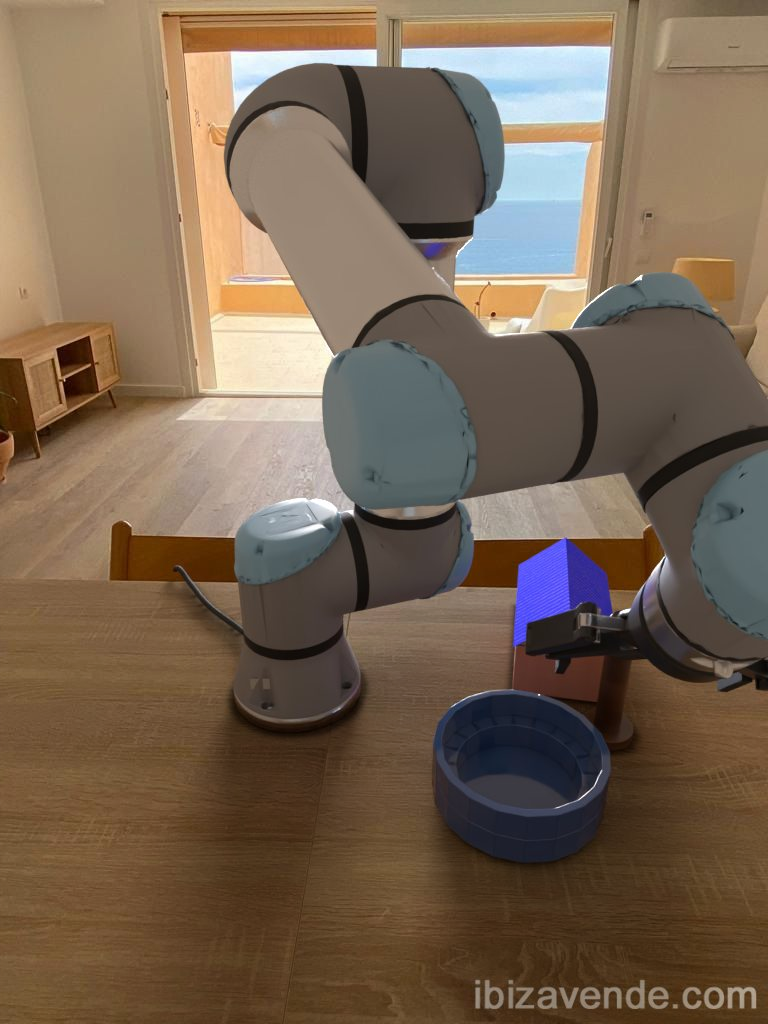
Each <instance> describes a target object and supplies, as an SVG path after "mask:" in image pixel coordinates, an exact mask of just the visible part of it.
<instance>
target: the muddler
mask: <svg viewBox="0 0 768 1024" xmlns="http://www.w3.org/2000/svg"><path fill="white" fill-rule="evenodd" d="M612 615H613V614H612ZM612 615H611V616H612ZM631 649H635V647H633V646H631ZM632 663H633V660H629V661H627V660H623V659H620V658H616V657H614V656H613V655H605V656H604V660H603V666H602V673H601V680H600V686H599V693H598V699H597V702H596V707H592V708H589V709H587V710H586V711H585V712H584V713H583V714H582V715H584V716H585V717H586V718H587V719H588V720H589V721H590V722H591V723H592V724H593V725H594V726H595V727H596V728H597V729H598V731H599V732H600V733H601V735H602V737H603V739H604V741H605V743H606V745H607V747H608V749H609V751H612V752H613V751H620V750H624V749H626V748H628V747H629V746H630V745H631V743H632V742H633V736H634V731H635V729H634V725H633V723H632V721H631V720H630V719H629V718H628V717H627V716H626V715H624V709H625V704H626V697H627V691H628V685H629V680H630V674H631V668H632Z"/></svg>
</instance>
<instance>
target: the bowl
mask: <svg viewBox="0 0 768 1024" xmlns="http://www.w3.org/2000/svg"><path fill="white" fill-rule="evenodd" d="M610 751H611V750H609V749H608V747H607V745H606V743H605V741H604V739H603V737H602V735H601V733H600V732H599V731H598V729H597V728H596V727H595V726H594V725H593V724H592V723H591V722H590V721H589V720H588V719H587V718H586V717H585V716H584V715H583V714H582V713H581V712H579V711H578V710H576V709H574V708H573V707H572V706H569V704H567V703H566V702H563V701H561V700H557V699H555V698H554V697H553V698H552V697H551V696H546V695H542V694H538V693H532V692H526V691H520V690H512V689H495V690H494V689H493V690H487V691H484V692H480V693H476V694H473V695H469V696H467V697H465V698H464V699H462V700H460V701H459V702H457V703H455V704H454V705H452V706H450V707H449V709H448V710H447V711H446V712H445V713H444V714H443V716H442V717H441V718H440V720H439V721H438V722H437V725H436V729H435V731H434V736H433V740H432V768H431V769H432V770H431V786H432V792H433V793H432V794H433V801H434V804H435V806H436V809H437V810H438V812H439V814H440V815H441V817H442V818H443V821H444V822H445V825H446V826H447V827H448V828H449V829H450V830H452V831H453V832H454V833H455V834H456V835H457V836H458V837H459V838H460V839H461V840H463V841H464V842H465V843H466V844H468V845H470V846H472V847H474V848H475V849H477V850H479V851H482V852H483V853H486V854H488V855H489V856H491V857H494V858H499V859H504V860H508V861H512V862H518V863H522V864H531V863H532V864H533V863H549V862H550V863H551V862H555V861H557V860H559V859H562V858H566V857H567V856H570V855H573V854H575V853H578V851H580V850H581V849H582V848H583V847H584V846H586V844H588V843H589V842H590V841H591V840H592V839H593V838H594V837H596V835H597V832H598V830H599V827H600V825H601V823H602V820H603V818H604V814H605V808H606V803H607V798H608V797H607V796H608V791H609V785H610V779H611V773H612V769H611V752H610Z"/></svg>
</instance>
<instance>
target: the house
mask: <svg viewBox="0 0 768 1024" xmlns="http://www.w3.org/2000/svg"><path fill="white" fill-rule="evenodd" d="M517 570H518V573H517V587H516V599H515V612H514V613H515V616H514V629H513V639H512V641H513V642H512V648H514V655H513V656H514V657H513V659H514V660H513V672H512V686H511V687H512V688H511V690H520V691H526V692H532V693H538V694H542V695H545V696H547V697H553V698H560V699H561V698H563V699H570V700H577V701H586V702H593V703H597V699H598V693H599V686H600V680H601V673H602V666H603V660H604V656H592V657H580V658H571V663H570V665H569V666H568V668H567V670H566V671H565V673H564V674H556V673H555V664H556V660H552V659H546V658H545V654H543V655H536V656H529V655H527V654H525V645H526V629H527V623H529V622H533V621H536V620H539V619H543V618H546V617H549V616H553V615H556V614H559V613H563V612H566V611H569V610H573V609H575V608H576V607H577V606H578V605H579V604H580V603H584V602H593V603H595V604H597V605H598V609H601V615H604V616H611V615H612V614H613V613H614V611H613V605H612V600H611V599H612V598H611V593H610V586H609V582H608V581H609V580H608V575H607V572H606V571H605V570H603V568H601V567H600V566H599V565H598V564H597V563H595V562H594V560H592V559H591V558H590V557H589V556H588V555H586V553H584V551H582V550H581V549H580V548H578V546H576V545H575V544H574V543H573V542H572V541H570V539H569V538H568V537H564V538H562V539H561V540H559V541H557V542H555V543H553V544H552V545H550V546H549V547H547V548H545V549H543V550H542V551H540V552H539V553H537V554H535V555H533V556H531V557H530V558H529V559H526V560H525V561H523V562H521V563H520V564H518V569H517Z"/></svg>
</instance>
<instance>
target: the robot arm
mask: <svg viewBox="0 0 768 1024" xmlns="http://www.w3.org/2000/svg"><path fill="white" fill-rule="evenodd" d="M505 150H506V149H505V139H504V130H503V125H502V120H501V117H500V113H499V110H498V107H497V105H496V102H495V101H494V100H493V98H492V95H491V92H490V91H489V89H488V88H487V87H486V86H485V84H484V83H483V82H482V81H481V80H480V79H479V78H477V77H476V76H473V75H472V74H469V73H467V72H461V71H455V70H449V69H441V68H439V67H431V66H428V67H427V66H426V67H412V66H411V67H410V66H409V67H407V66H381V65H380V66H377V65H351V64H350V65H348V64H335V63H331V62H330V63H328V62H313V63H306V64H301V65H296V66H293V67H290V68H287V69H284V70H282V71H279V72H278V73H276V74H274V75H272V76H270V77H269V78H267V79H266V80H264V81H263V82H262V83H260V84H259V85H258V86H257V87H255V88H254V89H253V90H252V91H251V92H250V93H249V94H248V95H247V96H246V97H245V98H244V100H243V101H242V102H241V103H240V104H239V106H238V107H237V110H236V112H235V113H234V115H233V117H232V118H231V120H230V123H229V126H228V129H227V132H226V135H225V141H224V149H223V165H224V172H225V173H224V174H225V178H226V181H227V184H228V188H229V190H230V193H231V195H232V197H233V199H234V200H235V203H236V204H237V206H238V209H239V210H240V211H241V213H242V214H243V215H244V217H245V218H246V219H247V221H248V222H250V223H251V224H252V225H253V226H254V227H256V228H257V229H258V230H260V231H261V232H263V233H264V234H267V235H268V237H269V240H270V241H271V243H272V245H273V247H274V249H275V251H276V253H277V254H278V256H279V258H280V260H281V262H282V263H283V266H284V267H285V269H286V272H287V273H288V275H289V277H290V279H291V281H292V283H293V285H294V286H295V288H296V290H297V292H298V294H299V296H300V297H301V299H302V301H303V304H304V305H305V307H306V309H307V312H308V313H309V314H310V316H311V318H312V320H313V322H314V324H315V326H316V328H317V330H318V332H319V334H320V335H321V337H322V339H323V341H324V343H325V345H326V347H327V349H328V350H329V352H330V355H331V356H332V359H331V361H330V362H329V364H328V366H327V367H326V371H325V373H324V378H323V384H322V395H321V410H322V411H321V413H322V426H323V434H324V440H325V445H326V448H327V449H328V452H329V456H330V463H331V469H332V472H333V475H334V478H335V480H336V482H337V483H338V485H339V488H340V489H341V491H342V493H343V494H344V495H345V496H346V497H347V498H348V499H349V500H350V501H351V502H352V503H353V505H354V507H353V509H350V510H349V509H348V510H344V511H338V509H337V507H336V506H335V505H334V504H333V503H331V502H330V501H326V500H324V499H319V498H313V499H310V500H308V499H307V498H303V497H302V498H293V499H287V500H284V501H279V502H276V503H273V504H270V505H268V506H265V507H263V508H260V509H259V510H257V511H256V512H254V513H252V514H251V515H250V516H249V517H248V518H247V519H246V520H245V521H243V522H242V524H241V525H240V526H239V528H238V529H237V531H236V534H235V538H234V565H233V570H234V571H233V572H234V574H235V577H236V579H237V587H238V596H239V606H240V617H241V625H240V624H239V623H237V622H236V621H235V620H233V619H232V618H231V617H229V616H228V615H226V614H225V613H224V612H222V611H221V610H220V609H218V608H217V607H215V606H214V605H213V604H212V603H211V602H210V601H209V600H208V599H207V598H206V597H205V595H204V594H203V593H202V592H201V590H200V589H199V588H198V586H197V585H196V583H194V581H193V580H192V579H191V578H190V576H189V575H188V574H187V572H186V571H185V569H184V568H183V567H182V566H181V565H175V566H174V567H173V568H172V572H174V573H177V572H178V573H179V575H180V576H181V577H182V579H183V580H184V582H185V583H186V584H187V585H188V586H189V588H190V590H191V591H192V592H193V594H194V595H195V597H196V598H197V599H198V600H199V601H200V602H201V604H202V605H203V606H204V607H205V608H206V609H207V610H209V611H210V612H211V613H212V614H214V615H215V616H216V617H218V619H220V620H222V621H223V622H225V623H226V624H227V625H228V626H230V627H231V628H233V630H235V631H237V632H238V633H239V634H241V635H242V636H243V642H242V643H243V644H242V647H241V651H240V655H239V659H238V662H237V665H236V669H235V674H234V677H233V682H232V687H233V688H232V689H233V697H234V701H235V702H234V703H235V705H236V708H237V710H238V711H239V713H240V714H241V715H242V717H244V718H245V719H246V720H247V721H248V722H250V723H251V724H253V725H255V726H257V727H260V728H262V729H265V730H269V731H274V732H282V733H300V732H306V731H307V732H308V731H312V730H317V729H320V728H323V727H326V726H328V725H330V724H332V723H334V722H336V721H338V720H339V719H341V718H342V717H344V716H345V715H346V714H347V713H349V712H350V711H351V709H352V708H353V707H354V706H355V705H356V703H357V702H358V700H359V697H360V694H361V689H362V679H361V677H362V676H361V668H360V665H359V662H358V660H357V659H356V656H355V653H354V651H353V649H352V646H351V644H350V642H349V639H348V638H347V634H346V633H345V628H344V627H345V626H344V616H345V615H349V614H353V613H357V612H362V611H366V610H371V609H376V608H381V607H387V606H391V605H396V604H400V603H405V602H410V601H414V600H415V601H416V600H430V599H432V598H434V597H436V596H438V595H441V594H445V593H449V592H452V591H454V590H455V589H457V588H458V587H459V586H461V585H462V584H463V582H464V581H465V579H466V578H467V576H468V574H469V572H470V569H471V567H472V563H473V558H474V552H475V536H474V535H475V534H474V533H473V532H472V531H471V530H472V529H471V528H472V525H473V522H472V518H471V516H470V513H469V511H468V508H467V506H466V505H465V504H464V502H463V501H464V500H469V499H473V498H478V497H485V496H491V495H494V494H495V495H496V494H501V493H506V492H512V491H518V490H524V489H529V488H535V487H540V486H546V485H555V484H557V483H569V482H575V481H581V480H588V479H593V478H599V477H605V476H612V475H619V474H624V476H625V478H626V480H627V482H628V484H629V485H630V487H631V490H632V491H633V493H634V495H635V497H636V499H637V500H638V502H639V505H640V506H641V509H642V510H643V513H644V514H645V515H646V516H647V518H648V520H649V523H650V525H651V527H652V529H653V531H654V533H655V535H656V537H657V539H658V541H659V543H660V545H661V547H662V550H663V552H664V554H665V555H664V556H663V557H662V558H661V559H660V562H658V563H657V565H656V566H655V568H653V570H652V572H651V574H650V576H649V577H648V578H647V579H646V581H645V582H644V584H643V585H642V586H641V588H640V589H639V591H638V592H637V593H636V594H635V597H634V600H633V601H632V604H631V607H630V608H627V609H621V610H615V611H613V615H612V616H604V615H601V609H598V605H597V604H595V603H593V602H584V603H580V604H579V605H578V606H577V607H576V608H575V609H573V610H569V611H566V612H563V613H559V614H556V615H553V616H549V617H546V618H543V619H539V620H536V621H533V622H529V623H527V629H526V640H525V641H526V643H525V644H526V645H525V654H527V655H529V656H536V655H543V654H545V658H546V659H552V660H556V664H555V673H556V674H564V673H565V671H566V670H567V668H568V666H569V665H570V663H571V658H580V657H592V656H605V655H613V656H614V657H616V658H620V659H623V660H627V661H629V660H632V661H643V660H646V661H648V662H649V663H650V664H651V665H652V666H653V667H655V668H656V669H657V670H659V671H660V672H662V674H665V675H667V676H669V677H671V678H673V679H675V680H679V681H682V682H687V683H693V684H707V683H714V682H716V689H717V690H716V691H717V692H720V693H729V692H731V691H733V690H735V689H738V688H741V687H744V686H746V685H749V684H751V683H753V681H754V685H755V690H756V691H763V692H768V396H767V394H766V393H765V391H764V390H763V388H762V386H761V384H760V383H759V381H758V379H757V377H756V376H755V374H754V372H753V371H752V369H751V366H750V365H749V363H748V362H747V360H746V359H745V357H744V355H743V353H742V352H741V350H740V348H739V346H738V344H737V343H736V341H735V340H736V338H735V335H734V333H733V332H732V329H731V327H730V326H728V325H727V324H726V322H725V321H724V320H723V318H722V316H718V315H717V313H716V312H715V310H714V309H713V307H712V306H711V305H710V303H709V302H708V300H707V299H706V298H705V296H704V294H703V293H702V291H701V290H700V288H698V286H697V284H695V283H694V282H693V281H692V280H691V279H689V277H688V278H687V277H686V276H683V275H682V274H679V273H675V272H669V271H656V272H648V273H644V274H641V275H640V276H638V277H637V278H636V279H634V280H633V281H632V282H630V283H626V284H625V283H617V284H615V285H613V286H611V287H609V288H608V289H606V290H604V291H603V292H602V293H600V294H599V295H597V296H596V297H595V298H594V299H593V300H591V301H590V302H589V303H588V304H587V305H586V306H585V307H584V308H583V309H582V311H580V313H579V314H578V316H577V317H576V318H575V319H574V321H573V323H572V325H571V327H570V328H565V329H564V328H563V329H549V330H538V331H529V332H527V331H526V332H514V333H513V332H511V333H500V334H496V333H493V332H490V331H488V330H487V329H486V327H485V326H484V325H483V324H482V323H481V322H480V321H479V319H478V318H477V317H476V316H475V314H474V313H473V312H471V311H470V310H469V308H468V307H466V305H464V303H463V302H462V301H461V299H460V298H459V297H458V296H457V294H456V293H455V282H456V266H457V265H456V264H457V257H458V254H459V253H460V251H461V250H463V249H464V247H465V246H466V245H467V244H469V243H470V241H472V239H473V238H474V229H475V217H477V216H481V215H483V213H485V212H487V211H489V210H490V209H491V208H492V207H493V206H494V204H495V202H496V201H497V199H498V193H497V192H498V191H500V189H501V187H502V184H503V178H504V173H505V172H504V171H505V161H506V154H505V152H506V151H505ZM462 500H463V501H462ZM631 646H633V647H634V649H631Z"/></svg>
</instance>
